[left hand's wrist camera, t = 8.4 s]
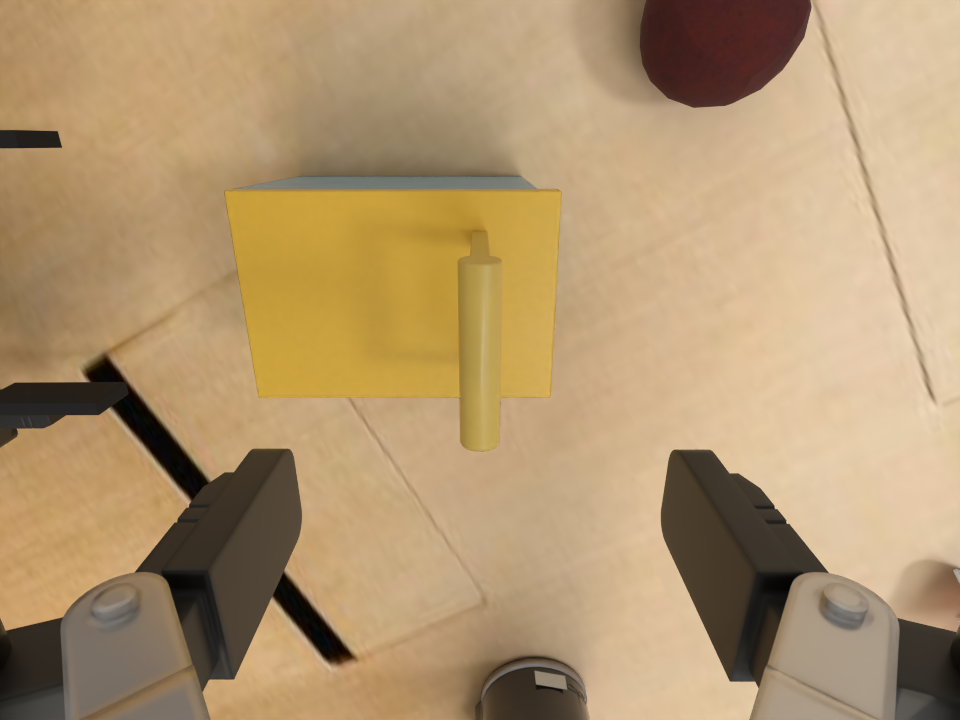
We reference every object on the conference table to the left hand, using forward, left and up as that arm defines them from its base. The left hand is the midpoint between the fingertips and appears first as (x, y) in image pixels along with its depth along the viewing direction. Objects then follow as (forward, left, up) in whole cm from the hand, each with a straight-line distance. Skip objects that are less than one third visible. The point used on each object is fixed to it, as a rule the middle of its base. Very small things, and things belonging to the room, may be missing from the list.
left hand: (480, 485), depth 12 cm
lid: (-2, +3, -15) cm, 16 cm away
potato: (+17, -1, -25) cm, 30 cm away
